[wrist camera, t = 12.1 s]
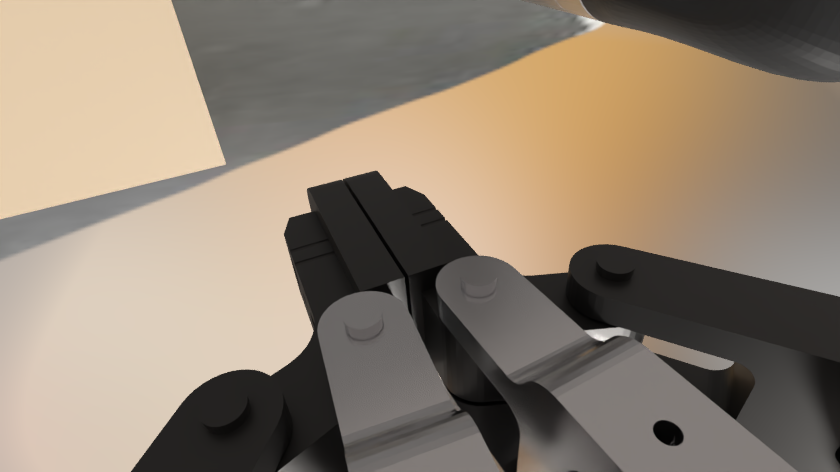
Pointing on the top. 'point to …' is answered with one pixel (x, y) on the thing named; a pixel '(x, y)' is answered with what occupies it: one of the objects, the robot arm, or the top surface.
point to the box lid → (95, 101)
